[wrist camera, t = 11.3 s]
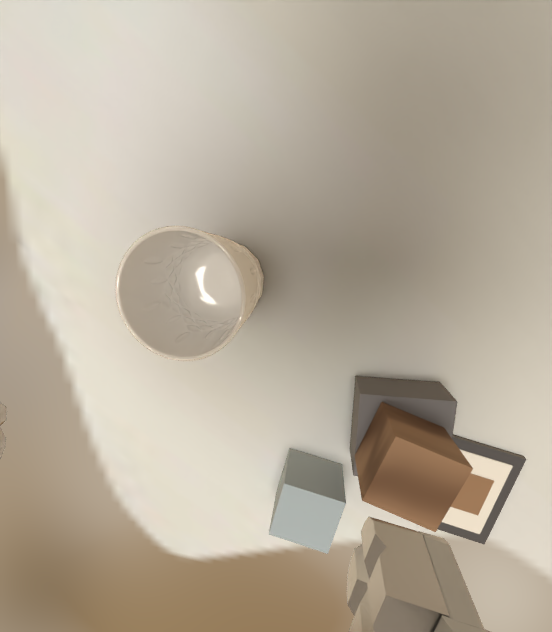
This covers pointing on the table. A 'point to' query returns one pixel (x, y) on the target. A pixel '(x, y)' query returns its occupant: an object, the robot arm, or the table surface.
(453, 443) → the walnut block
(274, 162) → the table surface
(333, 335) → the table surface
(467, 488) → the card
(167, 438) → the table surface
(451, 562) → the robot arm
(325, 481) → the slate-blue block
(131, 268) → the white cup
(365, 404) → the charcoal base block
